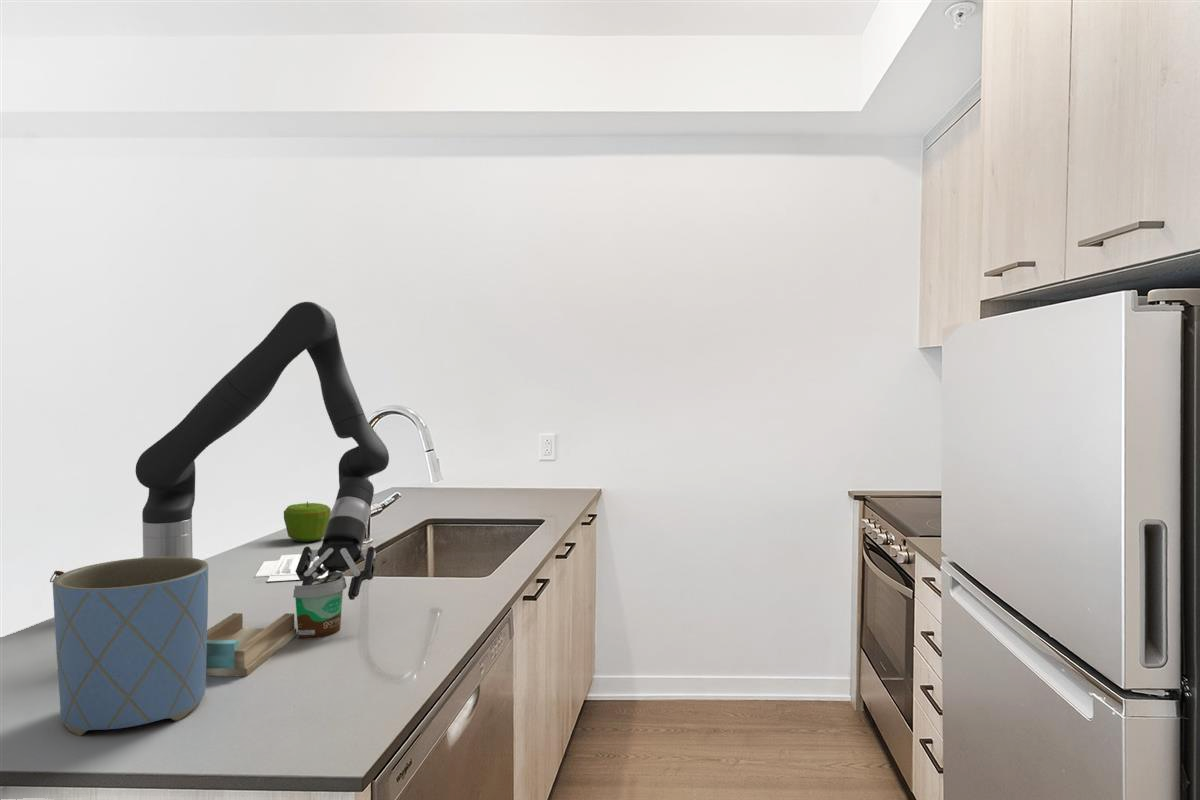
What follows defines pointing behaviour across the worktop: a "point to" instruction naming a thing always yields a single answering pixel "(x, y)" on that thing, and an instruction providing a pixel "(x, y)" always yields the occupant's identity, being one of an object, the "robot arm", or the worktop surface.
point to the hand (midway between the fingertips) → (328, 597)
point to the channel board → (244, 644)
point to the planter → (131, 641)
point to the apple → (306, 521)
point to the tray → (283, 568)
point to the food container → (320, 606)
